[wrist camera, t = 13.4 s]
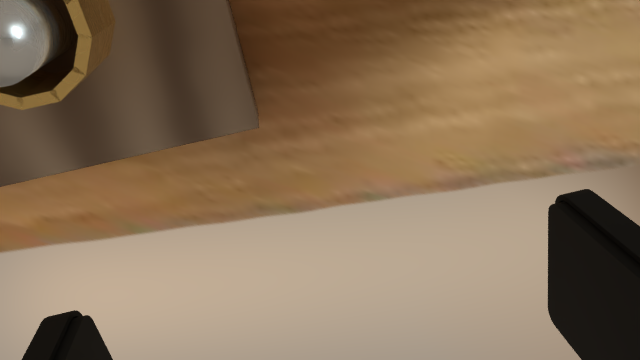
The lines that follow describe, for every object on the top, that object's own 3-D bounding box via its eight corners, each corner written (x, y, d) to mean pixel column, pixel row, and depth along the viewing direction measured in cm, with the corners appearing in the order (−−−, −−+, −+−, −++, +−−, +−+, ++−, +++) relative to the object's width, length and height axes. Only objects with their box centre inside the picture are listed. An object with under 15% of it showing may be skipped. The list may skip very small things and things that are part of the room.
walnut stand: (198, -117, 30) (193, -122, 27) (258, 113, 36) (259, 127, 33) (-154, -42, 29) (-195, -40, 26) (-32, 178, 35) (-54, 199, 32)
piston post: (64, -28, 28) (11, -17, 22) (92, 46, 30) (51, 76, 23) (-10, -12, 28) (-84, 4, 22) (23, 61, 30) (-37, 96, 23)
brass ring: (84, -67, 27) (52, -67, 23) (131, 66, 31) (112, 89, 26) (-53, -38, 27) (-112, -32, 23) (10, 94, 30) (-31, 122, 26)
